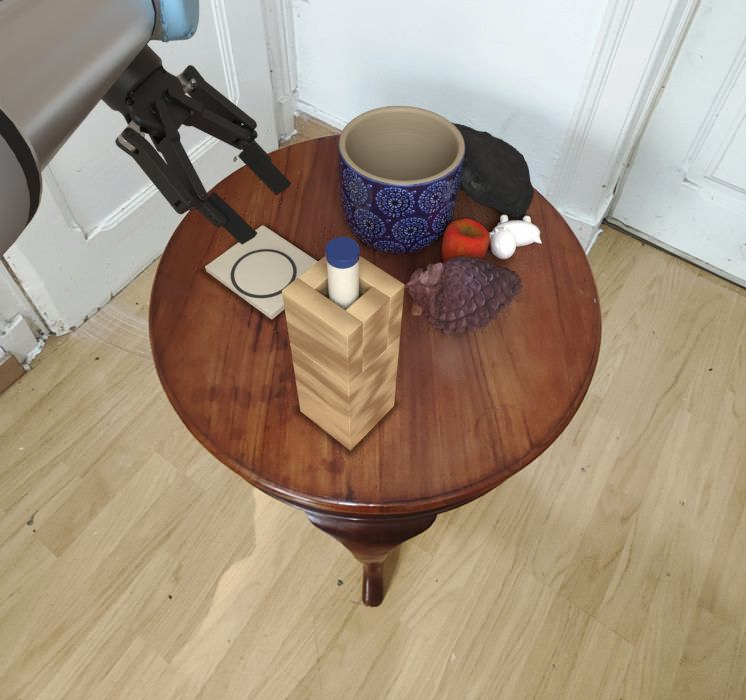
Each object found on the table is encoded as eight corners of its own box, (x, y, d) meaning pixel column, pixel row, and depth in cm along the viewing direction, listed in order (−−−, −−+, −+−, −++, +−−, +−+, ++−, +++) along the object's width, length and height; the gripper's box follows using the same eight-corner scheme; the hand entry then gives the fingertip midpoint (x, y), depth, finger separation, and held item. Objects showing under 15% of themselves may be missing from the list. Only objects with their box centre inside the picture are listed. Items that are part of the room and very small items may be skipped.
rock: (520, 244, 92) (553, 209, 88) (442, 212, 86) (473, 173, 82) (495, 179, 102) (523, 145, 97) (423, 147, 96) (450, 108, 91)
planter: (473, 248, 92) (490, 163, 79) (368, 283, 87) (370, 199, 75) (420, 178, 100) (429, 93, 88) (323, 207, 96) (318, 121, 84)
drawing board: (271, 319, 84) (270, 314, 83) (206, 271, 88) (204, 265, 87) (328, 273, 89) (328, 267, 88) (263, 229, 93) (262, 224, 92)
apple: (432, 254, 91) (446, 209, 85) (474, 261, 91) (490, 216, 86) (435, 281, 86) (450, 235, 81) (479, 288, 87) (496, 243, 82)
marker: (346, 355, 63) (343, 266, 53) (325, 340, 64) (318, 249, 54) (365, 338, 65) (366, 247, 54) (344, 323, 66) (341, 231, 55)
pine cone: (492, 263, 90) (538, 240, 81) (506, 331, 89) (554, 316, 80) (381, 271, 82) (418, 247, 73) (395, 346, 81) (434, 331, 72)
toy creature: (488, 209, 89) (492, 246, 86) (544, 212, 90) (549, 249, 87) (481, 229, 93) (484, 265, 90) (534, 232, 94) (539, 268, 91)
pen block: (350, 451, 73) (347, 336, 55) (300, 411, 76) (281, 290, 58) (394, 405, 76) (405, 284, 58) (344, 369, 79) (340, 243, 61)
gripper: (150, 29, 74) (287, 172, 84) (33, 132, 63) (208, 284, 73) (179, -10, 69) (322, 148, 79) (57, 95, 57) (242, 265, 67)
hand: (267, 213), depth 76 cm, fingers open, 9 cm apart
